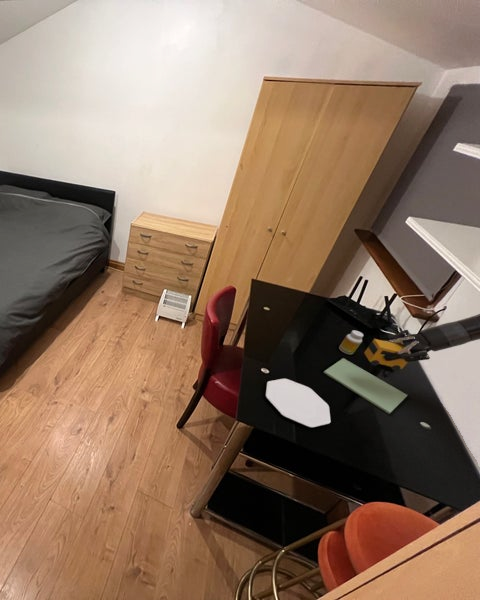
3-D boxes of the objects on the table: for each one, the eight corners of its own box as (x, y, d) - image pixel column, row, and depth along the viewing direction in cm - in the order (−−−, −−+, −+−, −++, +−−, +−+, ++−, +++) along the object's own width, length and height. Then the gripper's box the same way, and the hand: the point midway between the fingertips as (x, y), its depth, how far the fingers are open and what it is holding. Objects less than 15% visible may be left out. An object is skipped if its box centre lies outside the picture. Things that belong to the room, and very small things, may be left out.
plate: (326, 397, 116) (328, 394, 115) (330, 438, 102) (332, 436, 101) (266, 374, 124) (268, 371, 123) (262, 410, 109) (264, 407, 108)
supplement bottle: (351, 356, 136) (364, 339, 131) (337, 349, 140) (348, 332, 134) (354, 351, 139) (367, 334, 134) (340, 344, 143) (352, 327, 137)
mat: (406, 396, 119) (407, 395, 119) (389, 414, 112) (390, 412, 111) (342, 359, 134) (343, 358, 134) (323, 372, 127) (324, 371, 127)
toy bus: (393, 362, 118) (406, 345, 113) (400, 371, 114) (414, 355, 109) (361, 354, 120) (373, 338, 116) (366, 363, 116) (379, 347, 112)
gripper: (428, 315, 111) (368, 334, 120) (454, 341, 99) (385, 359, 109) (436, 331, 112) (376, 348, 122) (462, 358, 101) (394, 374, 110)
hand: (381, 353), depth 115 cm, fingers closed on toy bus, 5 cm apart
